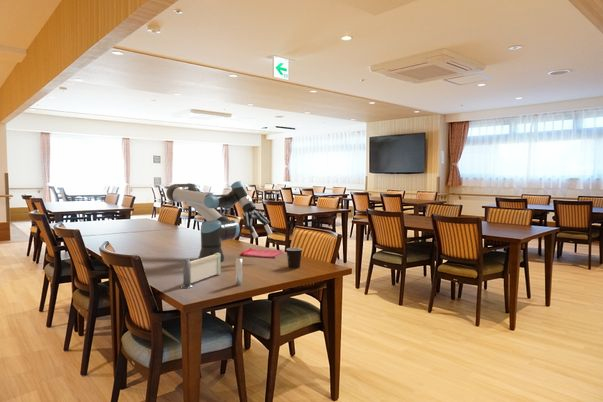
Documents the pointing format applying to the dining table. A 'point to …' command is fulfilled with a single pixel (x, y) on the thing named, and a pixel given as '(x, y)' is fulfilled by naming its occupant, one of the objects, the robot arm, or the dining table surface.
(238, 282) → the gate posts
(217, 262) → the gate
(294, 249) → the coffee mug
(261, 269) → the dining table surface
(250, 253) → the dish towel
